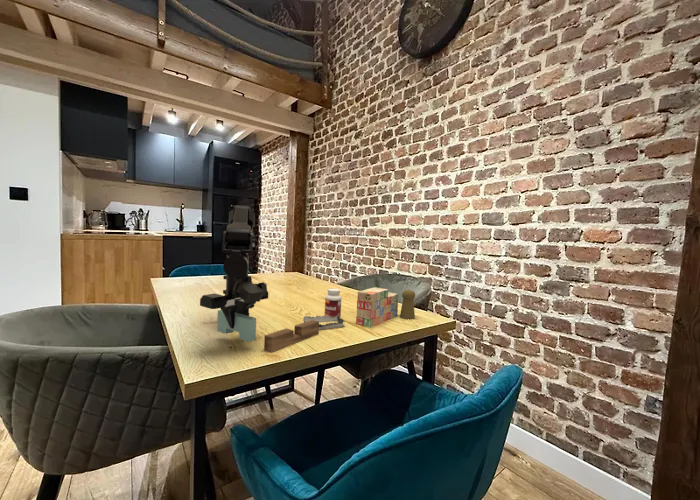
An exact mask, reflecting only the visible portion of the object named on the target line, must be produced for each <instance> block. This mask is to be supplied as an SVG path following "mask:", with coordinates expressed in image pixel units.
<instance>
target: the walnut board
mask: <svg viewBox="0 0 700 500" xmlns="http://www.w3.org/2000/svg"><path fill="white" fill-rule="evenodd" d="M319 324H320V322H319V321H315V320H310V321H307V322H304V321H303V322H302V323H301V322H300V323H299V324H294V327H293V328H294V329H290V328H287V327H286V328H284V329H280V330H276V331H274V332H271V333H268V334H265V335H264V341H263V342H264V344H263V350H264V351H267V352H269V353H274V352H276V351H279V350H282V349H284V348H288V347H289V346H292V345H294V344H297V343H299V342H301V341H304V340H307V339H309V338H312V337H314V336H316V335H319V334H320V333H319V331H320V330H319Z"/></svg>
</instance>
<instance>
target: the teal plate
mask: <svg viewBox="0 0 700 500" xmlns="http://www.w3.org/2000/svg"><path fill="white" fill-rule="evenodd" d="M216 320H217V321H216V323H217V325H216V328H217V329H216V330H217V332H218V333H219V332H220V333H222V334H225V335H228V334H231V333H234V332H236V333H238V339H240V340H242V341H245V342H248V343H249V342H250V343H251V342H253V341H256V339H257V335H256V334H257V317H253V316H250V315H249V316H247V315H243V314H239V313H236V312H235V323H234V328H233V329H232V328H230V326H229V324H228V322H227V320H226V317H225V315H224V313H223V312H222V310H221V309H219V310H217V319H216Z"/></svg>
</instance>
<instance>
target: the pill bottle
mask: <svg viewBox="0 0 700 500" xmlns="http://www.w3.org/2000/svg"><path fill="white" fill-rule="evenodd" d="M340 293H341V289H339V288H328V289H327V294H326V295H325V298H324V299H325V300H324V301H325V302H324V316H325V315H328V316H330V317H331V318H333V317H334V316H337V315H339V316H340V317H341V315H342V313H341V312H342V296H341V295H340Z"/></svg>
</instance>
